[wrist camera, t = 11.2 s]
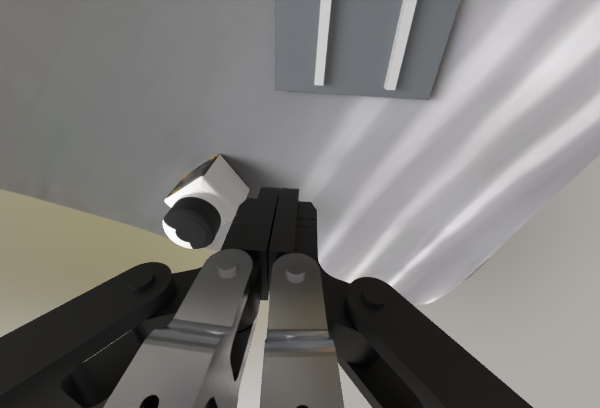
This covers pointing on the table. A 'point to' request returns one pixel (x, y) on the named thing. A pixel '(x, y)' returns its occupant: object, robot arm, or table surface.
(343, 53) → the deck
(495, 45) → the table surface
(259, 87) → the table surface
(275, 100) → the table surface
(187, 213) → the medicine bottle
